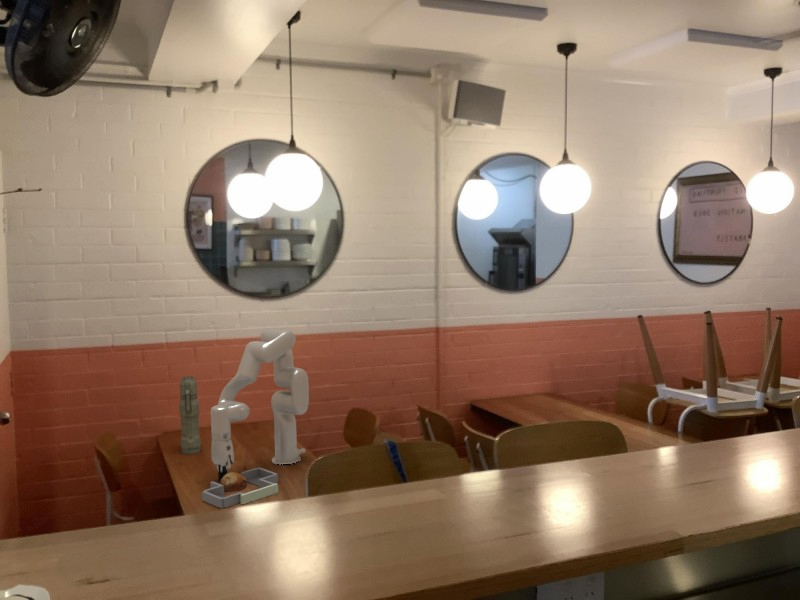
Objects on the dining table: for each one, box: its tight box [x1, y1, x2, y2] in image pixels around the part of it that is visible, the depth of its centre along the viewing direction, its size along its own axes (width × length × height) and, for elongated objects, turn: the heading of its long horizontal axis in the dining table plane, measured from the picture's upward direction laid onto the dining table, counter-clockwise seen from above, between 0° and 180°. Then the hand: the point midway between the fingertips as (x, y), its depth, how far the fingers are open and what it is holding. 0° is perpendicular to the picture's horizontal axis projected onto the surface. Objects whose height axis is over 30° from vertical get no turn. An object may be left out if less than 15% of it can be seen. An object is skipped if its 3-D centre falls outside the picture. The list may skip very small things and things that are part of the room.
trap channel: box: [201, 467, 279, 509], centre depth 283 cm, size 31×22×4 cm
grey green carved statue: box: [178, 376, 202, 456], centre depth 335 cm, size 9×12×35 cm
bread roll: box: [219, 471, 248, 493], centre depth 288 cm, size 10×10×8 cm
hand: (222, 480), depth 293 cm, fingers closed
